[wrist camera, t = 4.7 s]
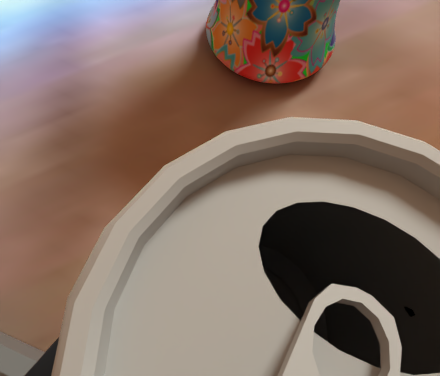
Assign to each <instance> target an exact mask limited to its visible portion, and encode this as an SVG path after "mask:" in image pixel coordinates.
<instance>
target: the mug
mask: <svg viewBox="0 0 440 376" xmlns="http://www.w3.org/2000/svg"><path fill="white" fill-rule="evenodd" d="M339 2H340V0H216V2H215V4H214V5H213V7H212V9H211V10H210V13H209V15H208V18H207V22H206V34H207V39H208V42H209V45H210V47H211V49H212V51H213V52H214V54H215V55H216V56H217V58H218V59H219V60H220V61H221V62H222V63H223V64H224V65H225V66H227V67H228V68H229V69H231V70H232V71H234V72H235V73H237V74H239V75H241V76H243V77H246V78H248V79H251V80H254V81H259V82H264V83H289V82H294V81H298V80H301V79H304V78H306V77H308V76H311V75H312V74H314V73H316V72H317V71H318V70H320V69H321V68H322V67H323V66H324V65H325V64H326V62H327V61H328V60H329V58H330V57H331V55H332V53H333V50H334V46H335V40H336V35H335V18H336V13H337V9H338V6H339Z"/></svg>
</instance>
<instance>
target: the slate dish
mask: <svg viewBox="0 0 440 376" xmlns="http://www.w3.org/2000/svg"><path fill="white" fill-rule="evenodd" d="M44 353H45V352H43V351H41V350H39V349H37V348H35V347H32V346H30V345H28V344H26V343H24V342H22V341H20V340H17V339H15V338H13V337H11V336H9V335H7V334H4V333H2V332H0V376H24V375H25V374H26V373H27V372H28V371H29V370H30V369H31V368H32V366H33V365H34V364H35V363H36V362H37V361H38V360H39V359H40V358H41V356H42V355H43V354H44Z"/></svg>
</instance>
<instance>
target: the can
mask: <svg viewBox="0 0 440 376" xmlns="http://www.w3.org/2000/svg"><path fill="white" fill-rule="evenodd" d="M404 307H408V308H410V309H412V310H413V312H414V314H415V315H414V316H412V317H410V316H409V314H408V313H407V312H406V310H405V308H404ZM51 376H440V151H439V150H437V149H436V148H434V147H432V146H431V145H429V144H427V143H426V142H424V141H421V140H417V139H414V138H411V137H408V136H405V135H402V134H398V133H395V132H392V131H389V130H386V129H382V128H379V127H376V126H373V125H370V124H366V123H363V122H360V121H357V120H339V119H320V118H301V117H287V118H283V119H279V120H274V121H270V122H265V123H261V124H256V125H252V126H247V127H243V128H238V129H234V130H230V131H225V132H223V133H222V134H220V135H218V136H216V137H215V138H213V139H211V140H209V141H207V142H206V143H204V144H202V145H200V146H198V147H197V148H195V149H193V150H191V151H189V152H188V153H186V154H184V155H182V156H181V157H179V158H177V159H175V160H173V161H172V162H170V163H168V164H166V165H164V167H163V168H162V169H161V170H160V171H159V172H158V173H157V174H156V175H155V176H154V177H153V178H152V179H151V180H150V181H149V182H148V183H147V184H146V185H145V186H144V187H143V188H142V189H141V190H140V191H139V192H138V193H137V194H136V196H135V197H134V198H133V199H132V200H131V201H130V202H129V203H128V204H127V205H126V206H125V207H124V208H123V209H122V210H121V211H120V212H119V213H118V214H117V215H116V216H115V217H114V218H113V219H112V220H111V221H110V222H109V224H108V225H107V226H106V227H105V228H104V229H103V231H102V233H101V235H100V237H99V239H98V241H97V243H96V245H95V246H94V248H93V250H92V252H91V254H90V256H89V258H88V260H87V262H86V264H85V265H84V267H83V269H82V271H81V273H80V275H79V277H78V279H77V281H76V283H75V284H74V286H73V288H72V290H71V292H70V294H69V296H68V298H67V303H66V308H65V312H64V317H63V322H62V327H61V331H60V336H59V341H58V346H57V351H56V355H55V360H54V365H53V370H52V375H51Z"/></svg>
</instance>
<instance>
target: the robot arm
mask: <svg viewBox="0 0 440 376" xmlns="http://www.w3.org/2000/svg"><path fill="white" fill-rule="evenodd" d="M404 308H405V310H406V312H407V313H408V314H409V316H410V317H412V316H414V315H415V314H414V312H413V310H412V309H410V308H408V307H404ZM58 341H59V338H58V339H57V340H56V341H55V342H54V343H53V344H52V345H51V346H50V348H49V349H48V350H47V351H46V352H45V353H44V354H43V355H42V356H41V358H40V359H39V360H38V361H37V362H36V363H35V364H34V365H33V366H32V368H31V369H30V370H29V371H28V372H27V373H26V374H25V375H24V376H51V375H52V370H53V365H54V360H55V355H56V351H57V346H58Z"/></svg>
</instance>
